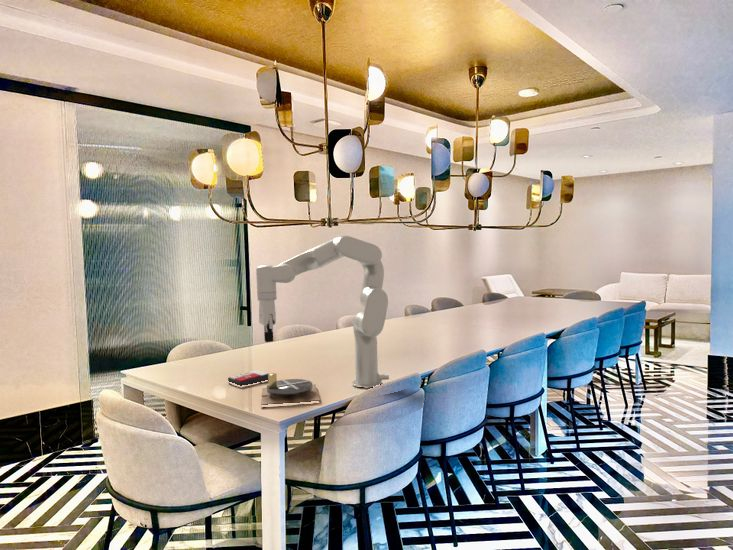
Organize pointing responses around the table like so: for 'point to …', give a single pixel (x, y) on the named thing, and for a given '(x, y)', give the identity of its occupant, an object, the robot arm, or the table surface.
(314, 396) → the valve base
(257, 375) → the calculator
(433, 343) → the table surface
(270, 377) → the handwheel
